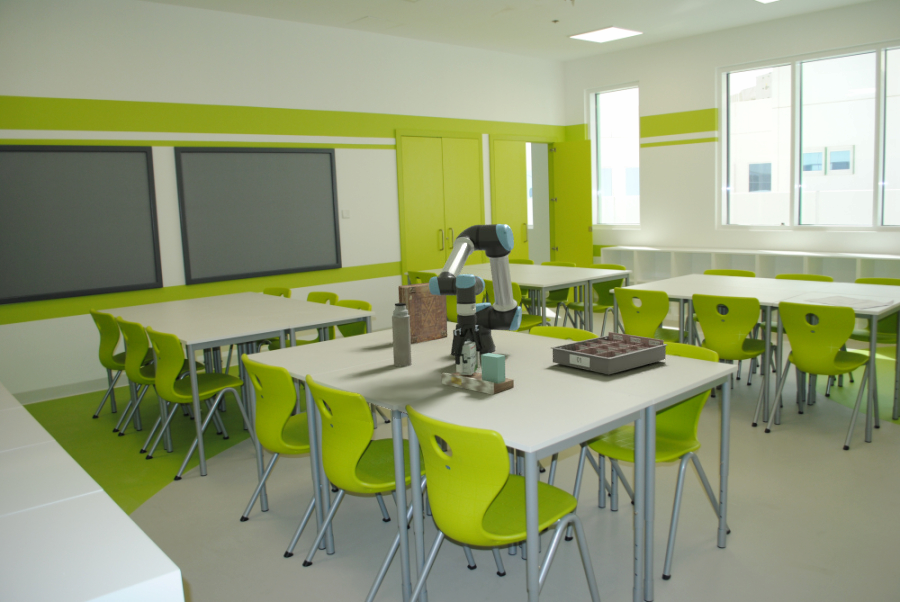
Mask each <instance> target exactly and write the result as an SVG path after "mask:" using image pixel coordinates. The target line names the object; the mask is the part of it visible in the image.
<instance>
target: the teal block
mask: <svg viewBox="0 0 900 602" xmlns="http://www.w3.org/2000/svg"><path fill="white" fill-rule="evenodd" d="M480 359H481V360H480V362H481V363H480V367H481V374H482V380H484V381H489V382H494V383H497V384H498V383H502V382H505V378H506V355H505V354H504V355H503V354H498V353H493V352H490V353H482V354H480Z"/></svg>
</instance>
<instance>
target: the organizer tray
mask: <svg viewBox="0 0 900 602" xmlns="http://www.w3.org/2000/svg"><path fill="white" fill-rule="evenodd" d="M664 341H665V340H664V339H658V338H651V337H645V336H638V335H631V334H624V333H618V332H611V331H608V335H604V336H599V337H594V338H590V339H586V340H580V341H576V342H571V343H567V344H561V345H557V346H552V347H550V349H552V363H555V364H558V365H562V366H567V367H573V368H576V369H583V370H585V371H587V370H588V371H592V372H596V373H601V374H605V375H612V374H616V373H620V372H623V371H627V370H632V369H635V368H638V367H642V366H647V365H648V364H652V363H653V364H654V363H658V362H662V361H664V359H665V360H666V351H667V350H666V349H667V346H668V344H667V343H664Z"/></svg>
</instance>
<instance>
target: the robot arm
mask: <svg viewBox="0 0 900 602" xmlns="http://www.w3.org/2000/svg"><path fill="white" fill-rule="evenodd" d="M514 240H515V238H514V233H513V230H512V228H511V227H510V226H509V224H505V223H503V224H501V223H495V224H475V225H471V226H468V227H467V228H465V229H464V230H463V231H461V232H460V233H459V234H458V235H457V236H456V237H455V240H454V242H453V244H452V245H453V249H452V250H451V252H450V253H449V255H448V258H447V260H446V262H445V264H444V265H443V268H442V269H441V271H440V274H439V275H438V276H437V275H436V276H433V277H430V279H429V281H428V283H429V290H430V293H431V294H433V295H440V296H441V295H446V296H456V314H457V315H456V317H457V318H456V320H457V321H456V324H459V328H458V330H455V329H453V330H452V335H453V336H452V338H453V339H452V343H451V351H450V355H451V356H454V360H455V361H454V362H455V366H456V368H455V369H456V371H455V372H459V373H463V364H462V356H461V353H462V349H463V346H464V343H465V340H467V338H468V337H469V338H470V341H471V342H475V344H476V359H477V369H479V368H480V367H481V363H480V362H481V360H480V359H481V355H483V354H487V353H493V352H495V351H496V345H495V343H494V342H495V341H494V339H493V336H492V335H493V334H492V331H509V332H510V331H517V330H519V328H520V326H521V322H522V317H523V316H522V315H523V308H522V307H521V306H519V305H518V301H517V300H516V299H514V295H513V285H512V279H511V270H510V268H511V267H510V262H509V255H510V254H511V252H512V250H513V249H514V245H515V241H514ZM475 251H484V253H485V256H486V258H488V259H489V266H490V273H491V279H492V286H493V293H494V303H493V304H491V302H480V303H477V298H476V297H477V296H478V295H480V294H482V292H484V290H485V289H486V288H485V287H486V283H485V281H484V279H483V278H482V277H481V276H477V275H475V274H472V273H465V274H464V273H462V270H463V268H464V266H465V264H466V262H467V260H468V258H469V256H470V255H472V254H473V253H474V252H475ZM475 324H476V325H475Z"/></svg>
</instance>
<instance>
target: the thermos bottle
mask: <svg viewBox="0 0 900 602" xmlns="http://www.w3.org/2000/svg"><path fill="white" fill-rule="evenodd" d="M405 305H406V303H399V302H396V303H394V306H395V307H394V310H393V312H392V316H391V325H392V326H391V327H392V348H393V349H392V350H393V351H392V353H393V366H394V365H395V367H400V366H401V367H409V366H411V365H412V344H411V337H410V315H408V310H406V306H405Z"/></svg>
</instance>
